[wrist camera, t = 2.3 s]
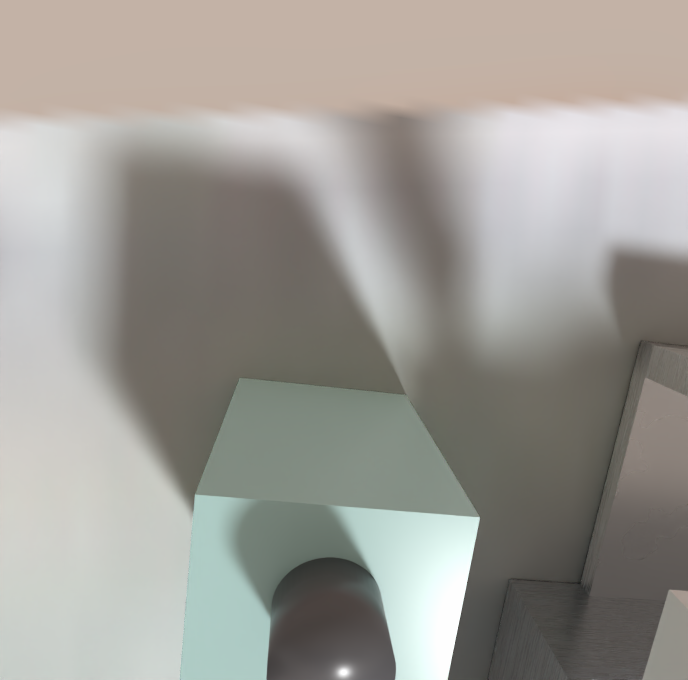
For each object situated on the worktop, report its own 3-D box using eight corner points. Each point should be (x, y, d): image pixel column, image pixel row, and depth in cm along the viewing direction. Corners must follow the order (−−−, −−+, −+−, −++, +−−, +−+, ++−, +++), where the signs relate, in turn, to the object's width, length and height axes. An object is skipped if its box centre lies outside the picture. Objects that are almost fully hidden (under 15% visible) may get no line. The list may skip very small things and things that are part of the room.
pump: (222, 558, 17) (149, 872, 9) (240, 376, 16) (174, 546, 8) (377, 568, 18) (445, 875, 9) (405, 394, 16) (511, 570, 8)
